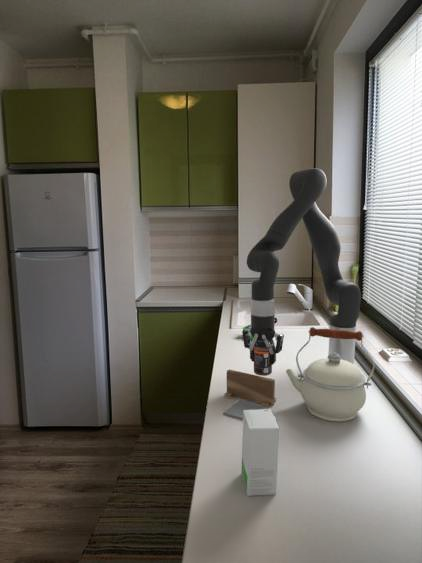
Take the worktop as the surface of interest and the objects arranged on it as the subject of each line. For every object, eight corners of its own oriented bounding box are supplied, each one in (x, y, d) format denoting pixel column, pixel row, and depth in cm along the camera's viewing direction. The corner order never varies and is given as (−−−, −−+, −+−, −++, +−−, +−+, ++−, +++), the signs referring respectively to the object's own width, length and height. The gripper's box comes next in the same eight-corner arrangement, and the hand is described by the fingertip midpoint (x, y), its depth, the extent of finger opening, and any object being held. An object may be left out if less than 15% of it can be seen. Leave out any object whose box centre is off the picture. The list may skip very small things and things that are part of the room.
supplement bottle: (271, 377, 136) (271, 343, 134) (252, 376, 137) (252, 342, 135) (272, 370, 141) (272, 337, 139) (254, 369, 143) (254, 336, 141)
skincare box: (241, 473, 96) (241, 408, 94) (269, 471, 97) (271, 407, 94) (247, 497, 88) (248, 428, 85) (278, 495, 89) (280, 426, 86)
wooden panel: (232, 390, 140) (232, 367, 139) (277, 401, 132) (277, 377, 130) (223, 396, 135) (223, 373, 134) (269, 409, 127) (269, 384, 125)
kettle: (370, 402, 131) (375, 324, 127) (372, 431, 114) (377, 342, 110) (289, 391, 139) (291, 317, 135) (279, 417, 122) (281, 333, 118)
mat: (239, 401, 132) (239, 399, 132) (269, 409, 127) (269, 407, 127) (223, 414, 124) (223, 412, 124) (253, 423, 118) (253, 421, 118)
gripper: (288, 312, 135) (287, 362, 138) (248, 307, 142) (248, 355, 145) (278, 317, 129) (278, 370, 132) (237, 312, 136) (237, 362, 139)
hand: (262, 362), depth 138 cm, fingers closed on supplement bottle, 6 cm apart
